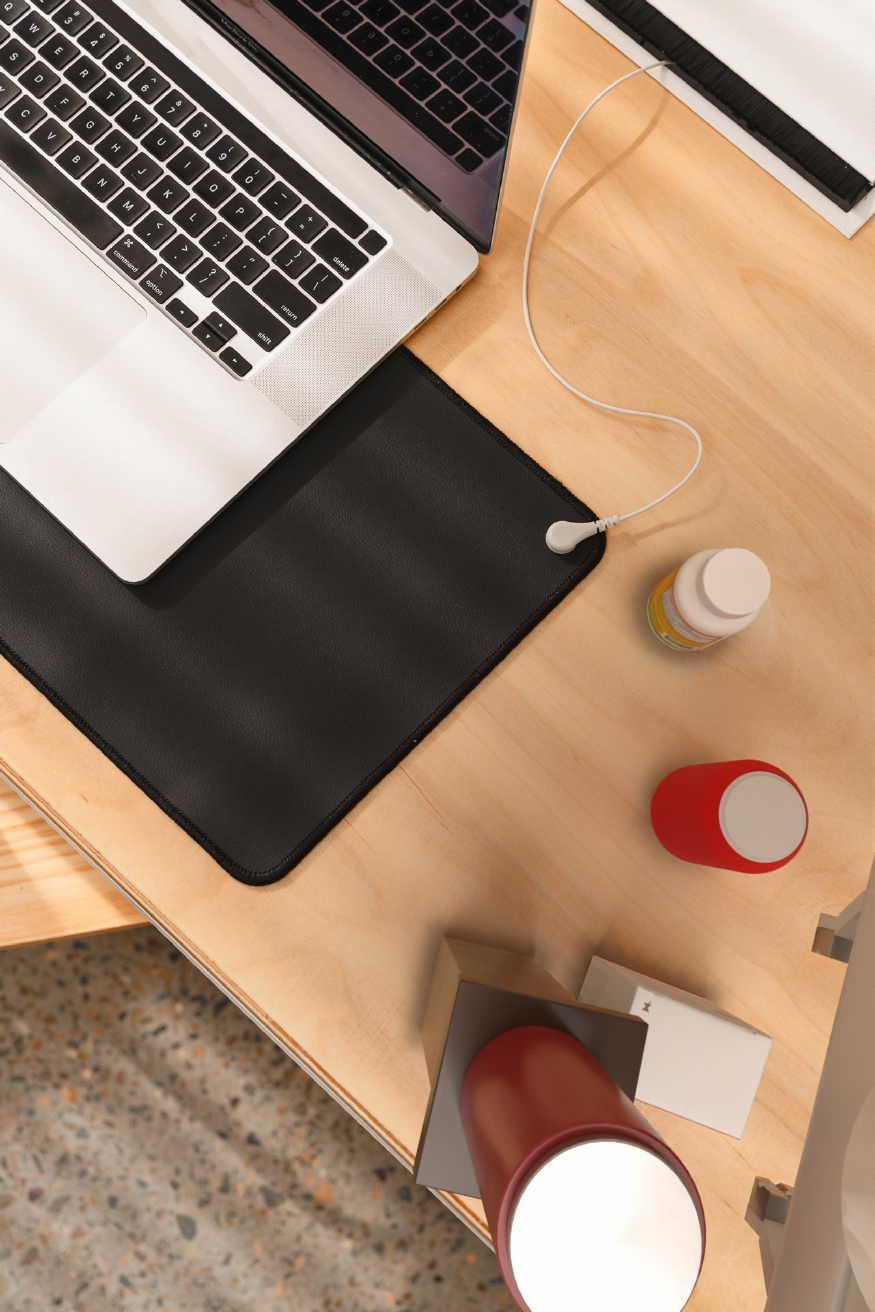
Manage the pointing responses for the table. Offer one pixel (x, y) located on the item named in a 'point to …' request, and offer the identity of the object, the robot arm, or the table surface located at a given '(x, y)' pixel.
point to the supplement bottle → (708, 598)
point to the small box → (685, 1048)
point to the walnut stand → (482, 1007)
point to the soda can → (577, 1182)
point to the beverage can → (731, 815)
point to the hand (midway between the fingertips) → (802, 1067)
